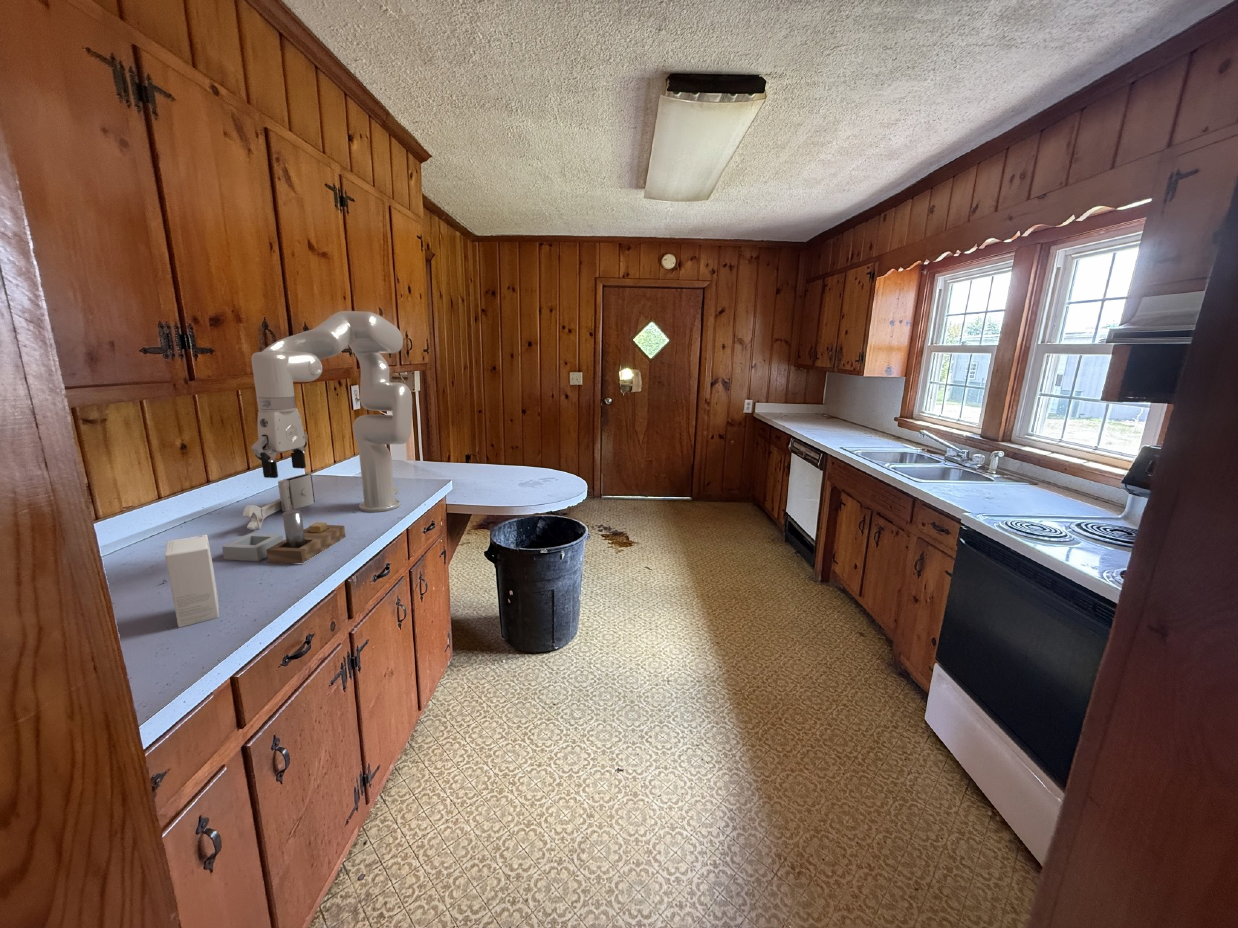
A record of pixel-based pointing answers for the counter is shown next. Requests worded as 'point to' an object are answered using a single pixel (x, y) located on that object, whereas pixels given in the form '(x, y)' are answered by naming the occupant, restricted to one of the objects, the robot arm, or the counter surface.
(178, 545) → the skincare box
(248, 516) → the wrench
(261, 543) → the holder
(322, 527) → the tan square peg
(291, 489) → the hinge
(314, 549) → the socket block
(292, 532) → the grey metal rounded cylinder
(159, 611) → the counter surface
